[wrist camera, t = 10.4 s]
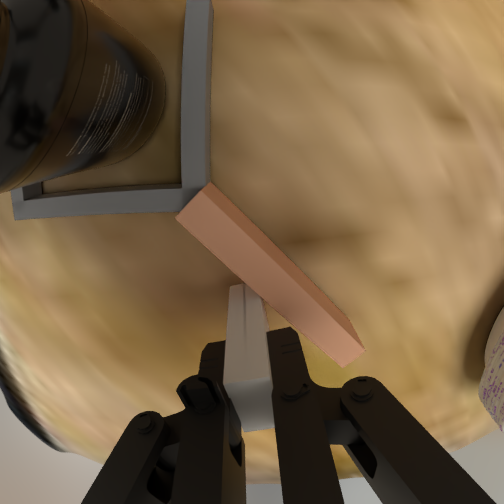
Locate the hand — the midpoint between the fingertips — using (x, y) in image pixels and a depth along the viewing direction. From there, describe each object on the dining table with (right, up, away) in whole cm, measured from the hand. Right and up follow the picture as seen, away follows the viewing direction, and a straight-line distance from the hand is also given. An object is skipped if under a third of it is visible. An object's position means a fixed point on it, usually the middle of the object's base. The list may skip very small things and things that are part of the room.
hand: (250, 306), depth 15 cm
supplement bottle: (-7, +10, -2) cm, 13 cm away
